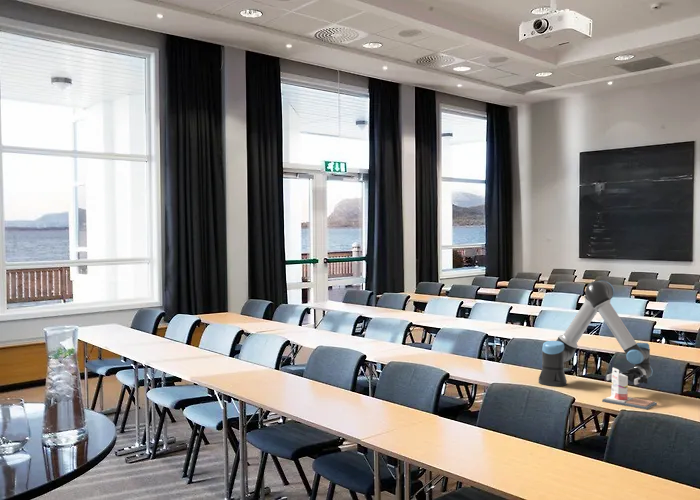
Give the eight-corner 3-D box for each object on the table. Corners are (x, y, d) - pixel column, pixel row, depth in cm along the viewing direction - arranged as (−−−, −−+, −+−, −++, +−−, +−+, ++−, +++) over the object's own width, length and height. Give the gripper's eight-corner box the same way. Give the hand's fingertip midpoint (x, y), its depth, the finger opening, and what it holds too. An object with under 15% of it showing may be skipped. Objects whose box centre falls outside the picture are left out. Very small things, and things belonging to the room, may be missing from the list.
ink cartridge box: (628, 400, 307) (628, 370, 307) (618, 399, 307) (618, 370, 307) (620, 396, 315) (621, 367, 315) (610, 395, 315) (611, 367, 316)
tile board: (602, 401, 309) (602, 398, 309) (613, 397, 320) (613, 393, 320) (646, 409, 295) (646, 406, 295) (656, 404, 306) (656, 401, 306)
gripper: (661, 385, 319) (646, 391, 303) (611, 377, 336) (595, 383, 321) (661, 370, 319) (647, 376, 303) (612, 364, 336) (596, 368, 321)
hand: (620, 379), depth 312 cm, fingers open, 13 cm apart
